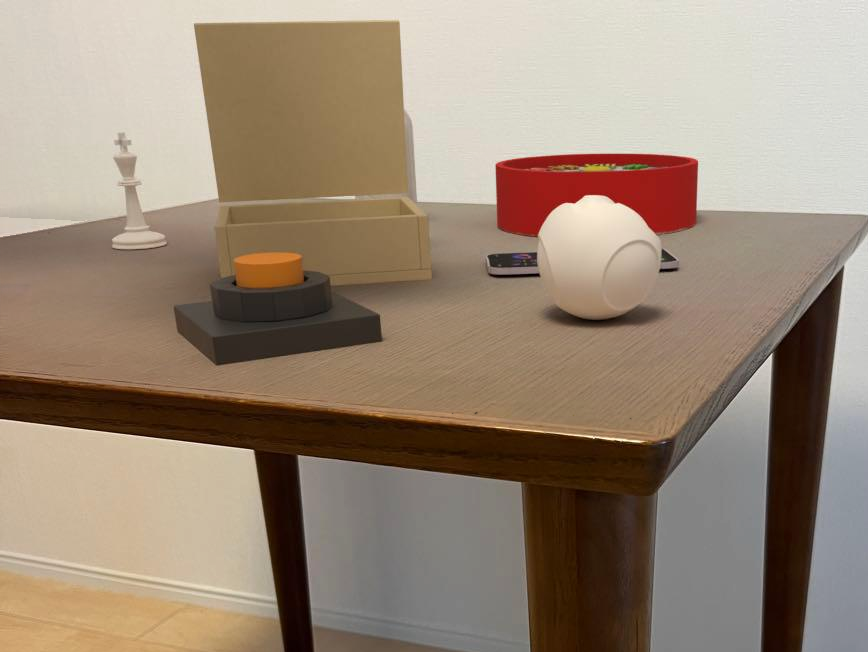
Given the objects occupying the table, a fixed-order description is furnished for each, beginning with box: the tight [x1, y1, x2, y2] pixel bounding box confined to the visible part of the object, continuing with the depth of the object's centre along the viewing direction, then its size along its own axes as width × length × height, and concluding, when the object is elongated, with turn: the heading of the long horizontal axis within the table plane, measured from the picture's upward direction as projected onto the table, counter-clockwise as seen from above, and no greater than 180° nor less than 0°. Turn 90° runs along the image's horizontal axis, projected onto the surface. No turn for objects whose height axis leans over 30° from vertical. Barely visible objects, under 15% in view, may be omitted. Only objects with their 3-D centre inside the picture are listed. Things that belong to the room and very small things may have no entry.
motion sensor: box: [536, 195, 663, 321], centre depth 69 cm, size 8×8×8 cm
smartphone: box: [485, 247, 680, 276], centre depth 88 cm, size 8×1×15 cm
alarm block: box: [173, 270, 383, 367], centre depth 67 cm, size 10×10×4 cm
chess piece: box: [111, 131, 168, 251], centre depth 101 cm, size 5×5×10 cm
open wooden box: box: [213, 197, 433, 287], centre depth 87 cm, size 13×16×5 cm
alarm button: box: [234, 252, 304, 288], centre depth 66 cm, size 4×4×2 cm
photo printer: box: [354, 107, 418, 206], centre depth 111 cm, size 10×4×12 cm, turn 27°
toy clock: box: [494, 153, 699, 237], centre depth 109 cm, size 20×6×20 cm
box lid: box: [193, 19, 408, 203], centre depth 89 cm, size 13×16×4 cm
